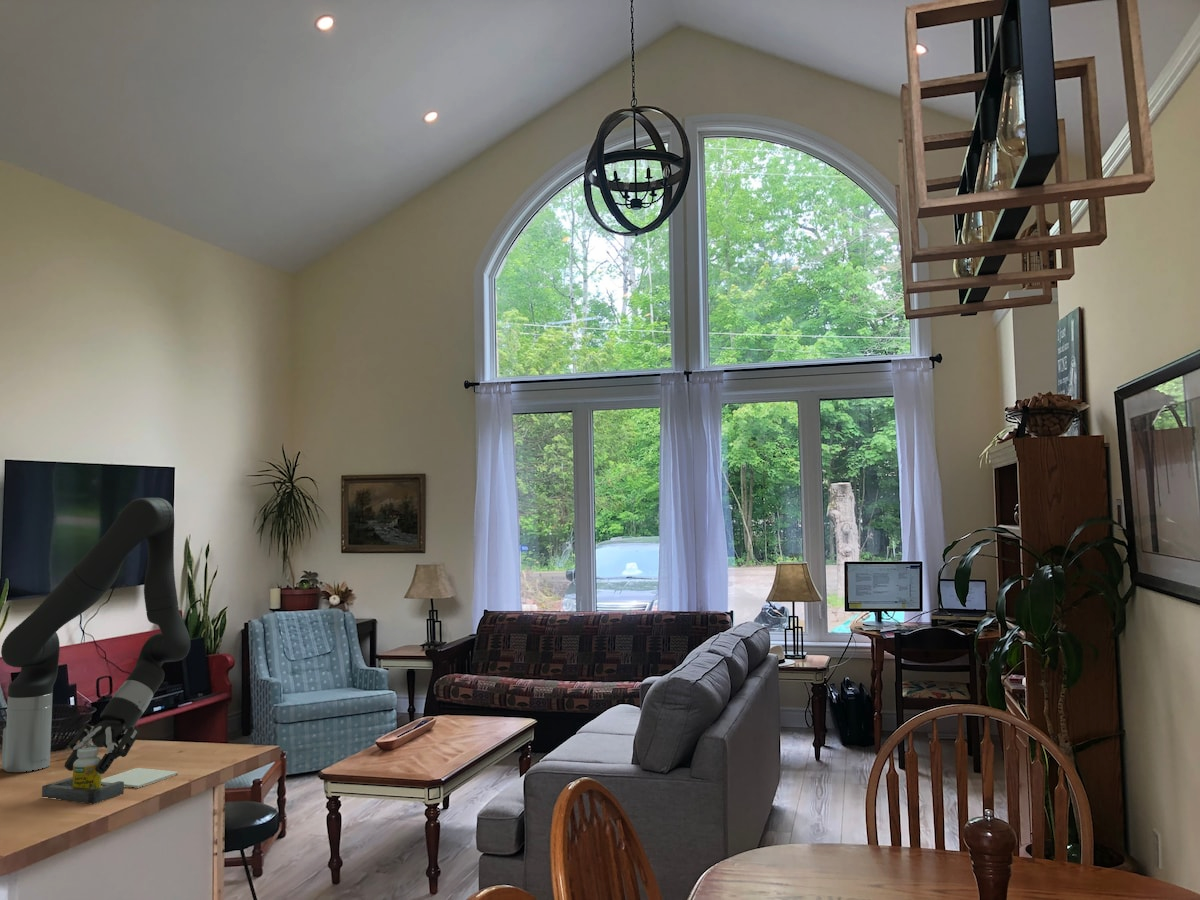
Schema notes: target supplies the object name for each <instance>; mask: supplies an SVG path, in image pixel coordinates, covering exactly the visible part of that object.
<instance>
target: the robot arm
mask: <svg viewBox="0 0 1200 900" xmlns="http://www.w3.org/2000/svg"><path fill="white" fill-rule="evenodd" d="M143 540H146V547H147V564H146V571H145V576H144V583H143V596H144V597H143V598H144V605H145V611H146V617H147V621H148V622H149V623H151V624H154V625H156V626H158V628H159V630H160V632H157V633H155V634H153V635H151V636H150V637H149V638H148V639H147V640H146V641H145V642H144V644H143V646H142V648H141V649H140V653H139V655H138V658H137V661H136V664H135V667H134V668H133V669H132V670H131V672H130V674H129V675H128V677H127V678H126V679H125V681H123V684H122V685H121V686H119V688H118V689H117V690H116V692H115V693H114V694H113V696H112V697H111V698H110V700H109V702H108V703H107V704H106V706H105V708H103V710H102V712H101V713H100V716H99V717H100V718H99V722H98V723H97V724H96V725H94V726H92V725H90V724H89V723H88V722H87V723H84V724H83V726H82V727H81V728H80V729H79V731H78V732H77V734H76V735H75V736H74V737H73V738H72V740H71V741H70V742H69V744H68V747H69V748H70V749H71V750H72V752H71V754H70V755H69V757H68V758H67V760H65V762H64V768H65V769H67V771H70V772H73V764H74V762H75V761H76V760H77V759H78V757H77V750H79V749H82V748H88V747H97V748H105V749H106V752H107V753H104V755H103V756H102V758H100V759H101V761H100V762H99V764H98V765H97V766H96V771H97V772H98V773H99V774H101V775H104V774H105V773H106V772H107V771H108V770H109V768H110V767H111V765H112V764H113V762H114V761H115V760H117V759H118V758H119V757H122V758H125V757H126V756H127V755H128V754H129V752H130V750H131V748H132V747H133V745H134V743H135V742H136V740H137V738H138V736H139V732H138V731H137V730H136V729H135V726H136V725H137V723H139V721H140V719H141V717H142V716H143V714H144V713H145V711H146V709H147V708H148V707H149V705H150V703H151V700H153V699H152V698H153V697H154V696H155V694H156V693H157V691H158V689H159V688H160V687H161V685H162V683H163V682H164V680H165V675H166V674H165V671H164V670H163V668H162V666H163V665H164V664H165V663H171V662H179V661H182V660H184V659H186V657H187V656H188V655H189V653H190V649H191V642H192V641H191V636H190V633H189V631H188V628H187V625H186V624H185V622H184V619H183V617H182V615H181V613H180V608H179V601H178V593H177V588H176V587H177V586H176V579H175V578H176V577H175V556H174V555H175V553H174V552H175V551H174V550H175V544H174V543H175V511H174V508H173V506H172V505H171V503H170V502H169V501H168V500H166V499H165V498H161V497H140V498H136V499H133V500H131V501H130V502H129V503H127V504H126V505H125V507H124V508H123V509H122V510H121V512H119V515H117V517H116V518H115V520H114V521H113V522H112V524H111V525H110V527H109V528H108V529H107V531H106V532H105V533H104V535H102V537H101V538H100V539H99V540H98V541H97V542H96V543H95V544H94V545H93V546H92V547H91V549H90V550H89V551H88V552H87V553H86V554H85V555H84V556H83V557H82V558H81V559H80V560H79V561H78V562H77V563H76V564H75V566H73V568H72V569H70V571H69V572H68V573H67V574H66V575H65V577H63V579H62V580H61V581H60V582H59V583H58V585H57V586H56V587H55V588H54V589H53V590H52V591H51V592H50V594H48V596H47V597H45V599H44V600H43V601H42V602H41V603H40V604H39V606H38V607H37V608H36V609H35V610H34V611H33V612H31V613H30V614H29V615H28V616H27V618H25V619H24V620H23V621H21V622H20V623H19V624H18V625H17V626H16V627H15V628H14V629H12V630H11V631H9V634H7V636H6V637H5V638H4V640H3V642H2V645H1V651H0V654H1V658H2V660H3V662H4V663H5V665H7V666H10V667H12V668H20V671H19V673H18V675H17V676H16V677H15V678H14V680H12V682H10V683H9V684H8V687H7V702H6V705H7V707H6V708H7V709H6V726H5V727H4V728H3V730H2V749H1V768H2V769H1V770H4V772H7V773H26V771H27V772H32V770H34V771H39V770H42V768H43V769H45V768H47V767H49V766H50V765H51V749H52V748H51V747H52V746H51V745H52V717H53V713H52V712H53V694H54V693H53V692H54V691H53V690H54V685H55V683H56V681H57V678H58V672H59V661H60V650H61V649H60V639H59V636H58V633H57V632H58V631H59V630H60V629H61V628H63V626H65V625H66V624H68V623H69V622H71V621H72V620H73V619H75V618H77V617H79V616H80V615H81V614H82V613H84V612H86V611H87V610H89V608H91V607H92V606H94V605H95V604H96V603H97V602H98V601H99V600H100V599H101V598H102V597H103V596H104V594H105V593H106V592H107V591H108V590H109V589H110V588H111V587H112V585H113V584H115V583H114V582H115V581H116V579H117V578H118V577H119V576H118V575H119V574H120V570H121V567H122V565H123V563H124V561H125V560H126V558H127V556H128V555H129V554H130V553H131V552H132V551H133V550H134V549H135V548H136V547H137V546H138V545H139V544H140V543H141V542H142V541H143ZM38 769H39V770H38Z"/></svg>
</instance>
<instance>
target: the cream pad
mask: <svg viewBox="0 0 1200 900" xmlns="http://www.w3.org/2000/svg"><path fill="white" fill-rule="evenodd" d="M178 773H179V774H180V772H179V771H173V770H163V769H154V768H153V769H152V768H144V767H135V768H133V769H130V770H129V769H128V770H126V771H123V772H120V773H117V774H114V775H111V776H108V777H105V778H101V784H102V785H101V786H105V785H108V784H111V783H114V782H117V781H122V782H124V786H125V787H124V788H128V787H134V788H133V789H137V788H138V789H140V788H139V787H141V788H143V787H142V786H144V787H146V786H145V785H147V786H149V784H150V785H153V784H154V783H155V782H156V783H158V782H161V781H163V780H167V779H169V778H168V777H170V778H172V777H171V776H173V775H175V774H178ZM173 777H174V776H173ZM166 778H167V779H166ZM152 783H153V784H152Z"/></svg>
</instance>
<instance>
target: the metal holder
mask: <svg viewBox="0 0 1200 900" xmlns="http://www.w3.org/2000/svg"><path fill="white" fill-rule="evenodd" d="M124 789H125V787H124V782H122V781H117V782H114V783H111V784H108V785H101V787H99V788H96V789H88V788H79V787H73V776H70V777H67V778H64V779H61V780H58V781H54V782H51V783H48V784H45V785H42V786H41V798H42V797H48V798H56V799H61V800H60V801H62V800H67V801H66V802H71V801H77V802H76V803H80V802H84V803H83V804H88V803H92V804H91V805H94V803H95V804H97V802H98V803H100V801H101V802H103V801H102V800H104V801H106V799H107V800H110V799H112V798H115V797H118V796H120V794H121V795H123V793H125V792H124ZM117 795H118V796H117ZM114 796H115V797H114ZM111 797H112V798H111ZM109 798H110V799H109Z"/></svg>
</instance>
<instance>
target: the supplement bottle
mask: <svg viewBox="0 0 1200 900" xmlns="http://www.w3.org/2000/svg"><path fill="white" fill-rule="evenodd" d="M98 755H99V747H88V748H85V747H82V748H81V749H79V750H77V757H78V759H77V760H76V761H75V762H74V764H73V771H72V777H73V787H79V788H88V789H96V788H99V787H102V785H101V779H102V774H99V773H98V772H97V771H96V766H97V765H98V764H99V762H100V761H101V759H102V758H100V757H99V756H98Z"/></svg>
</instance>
